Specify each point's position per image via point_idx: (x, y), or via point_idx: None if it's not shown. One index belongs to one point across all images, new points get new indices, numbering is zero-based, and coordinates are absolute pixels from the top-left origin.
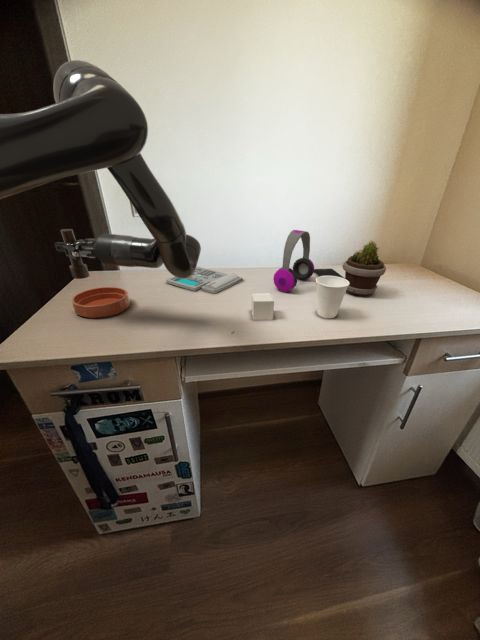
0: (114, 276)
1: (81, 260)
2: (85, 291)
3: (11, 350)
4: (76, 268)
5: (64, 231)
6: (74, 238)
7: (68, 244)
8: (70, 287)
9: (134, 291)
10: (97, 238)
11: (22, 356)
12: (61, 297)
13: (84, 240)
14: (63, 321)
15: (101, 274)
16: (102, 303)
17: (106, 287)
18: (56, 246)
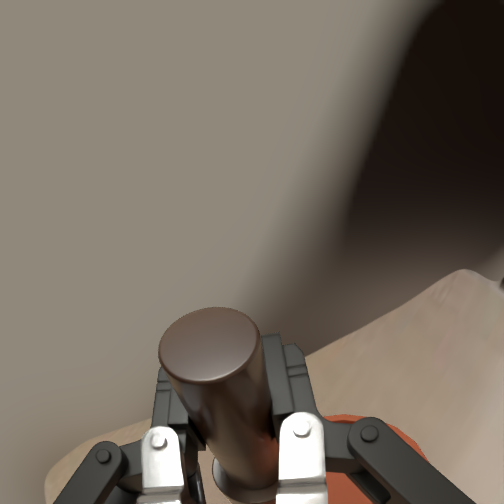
0: (499, 325)
1: (262, 480)
2: (347, 420)
3: (73, 459)
4: (218, 487)
5: (160, 362)
6: (236, 422)
7: (142, 452)
8: (388, 314)
9: (484, 464)
10: (434, 474)
11: (56, 491)
12: (333, 349)
13: (278, 491)
14: (209, 472)
15: (480, 296)
16: (351, 484)
17: (410, 445)
18: (162, 374)
